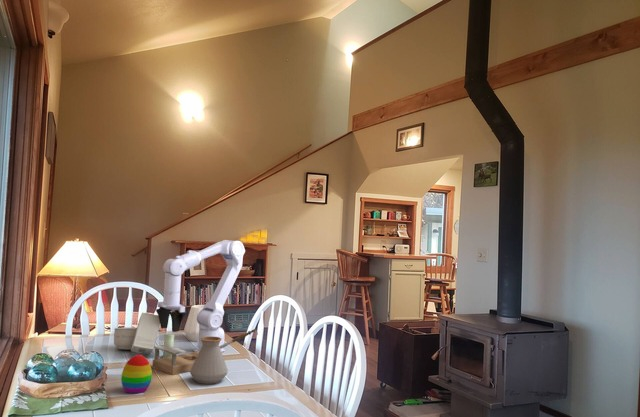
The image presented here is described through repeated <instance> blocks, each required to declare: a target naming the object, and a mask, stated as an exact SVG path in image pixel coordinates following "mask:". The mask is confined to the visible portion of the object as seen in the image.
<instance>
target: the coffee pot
mask: <svg viewBox="0 0 640 417" xmlns="http://www.w3.org/2000/svg"><path fill="white" fill-rule="evenodd" d="M253 333H255V334H254V335H256V336H258V335H259V334H258V331H257V329H256V328H255V329H252V330H248V331H247V332H245V333H242V334H240V335H239V336H237V337H235V338H233V339H231V340H230V341H228V342H224V344H223V345H221V346H219V343H220V341H221V338H220V337H202V338H201V341H202V347H201V349H200V351H199V354H198V356H197V358H196V360H195V362H194V364H193V366H192V368H191V370H190V372H189V374H190V376H191V377H192V378H193V379H194V380H195V381H196V383H199V384H203V385H204V384H207V385H209V384H210V385H212V384H218V383H220V382H221V381H222V380H223V379H224V378H225V377H226V376H227V375H228V371H229V370H228V367H227V364H226V361H225V358H224V355H223V352H221V350H220V349H221V348H223V347H224V348H225V347H227V346H228V345H231V344H233V343H235V342H238V341H240V340H242V339H244V338H246V337H247V336H250V335H252V334H253Z"/></svg>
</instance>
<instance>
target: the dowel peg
mask: <svg viewBox="0 0 640 417" xmlns="http://www.w3.org/2000/svg"><path fill="white" fill-rule="evenodd" d="M174 342H175V334H174V333H166V334H164V337H163V345H164V344H165V345H168V346H171V347H174V344H175V343H174ZM162 352H163V353H162V358H165V357H170V356H172V354H170V353H167V352H165V351H162Z"/></svg>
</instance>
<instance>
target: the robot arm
mask: <svg viewBox="0 0 640 417" xmlns="http://www.w3.org/2000/svg"><path fill="white" fill-rule="evenodd" d="M245 253H246V249H245V246H244V244H243V242H242V241H240V240H228V239H223V240H222V241H221V240H220V241H217V242H216V243H214V244H211V245H210V246H208V247H206V248H203V249H201V250H199V251H195V250H190V249H189V250H187V251H186V253H184V254H181V255H176V256H175V258H168V259H166V261H165V262H164V263H163V265H162V267H161V268H162V272H164V286H163V299H162V300H163V301H158V302H157V309H155V312H156V313H157V314H156V315H158V316H159V320H160V329H167V328H168V326H169V321H170V320H169V319H170V318H171V331H172V332H173V333H177V332H179V330H180V327H181V325H182V322H183V319H184V318H185V317H186V314H187V312H186V306H184V305H183V304H180V302H181V301H180V300H181V289H182V288H181V286H182V284H181V283H182V275H183V274H184V273H185V271H188V270H190V269H192V268H194V267H197V266H199V265H200V264H201V261H203V260H205V259H207V258H210V257H213V256H215V255H217V254H220V255H221V256H222V258H223V259H224V260H225V262H226V267H225V270H224V272H223V273H222V276H221V278H220V279H219V282H218V283H217V285H216V288H215V290H214V292H213V294H212V295H211V298H210V300H209V301H208V302H206V303H205V304H203V305H204V307H203V309H202V310H201V311H200V312H199V313H198V314H197V322H198V323H199V341H197V342H198V344H197V345H198V346H197V348H196V349H195V348H194V349H193V350H192V351H193V352H199V351H200V349H201V347H202V341H201V338H202V337H220V338H221V341H220V343H219V346H221V345H223V344H225V330H224V329H223V327H221V326H222V324H223V317H224V315H225V310H224V305H225V303H226V301H227V300H228V296H229V295H230V293H231V292H232V291H231V290H232V289H233V286H234V284H235V282H236V280H237V278H238V276H239V274H240V271H241V270H242V268H243V258H244V255H245ZM224 348H225V347H223V348H221V349H220V350H221V352H222V353H223V352H225V351H226V350H225V349H224Z"/></svg>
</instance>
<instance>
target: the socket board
mask: <svg viewBox="0 0 640 417" xmlns="http://www.w3.org/2000/svg"><path fill="white" fill-rule="evenodd" d="M160 351H162V352H163V351H165V352H167V353H170V354H172V356H170V357H165V358H163V357H160ZM198 354H199V352H195V351H193V352H188V353H186V350H183V349H180V348H177V347H174V346H173V347H171V346H168V345H165V344H164V343H163V344H158V345H155V346H154V359H152V365H151V366H152V367H151V368H153V369H156V370H159V371H161V372H164V373H166V374H169V375H171V376H176V375H180V374H185V373H190V370H191V368H192V366H193V364H194V362H195V360H196V358H197V356H198Z"/></svg>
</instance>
